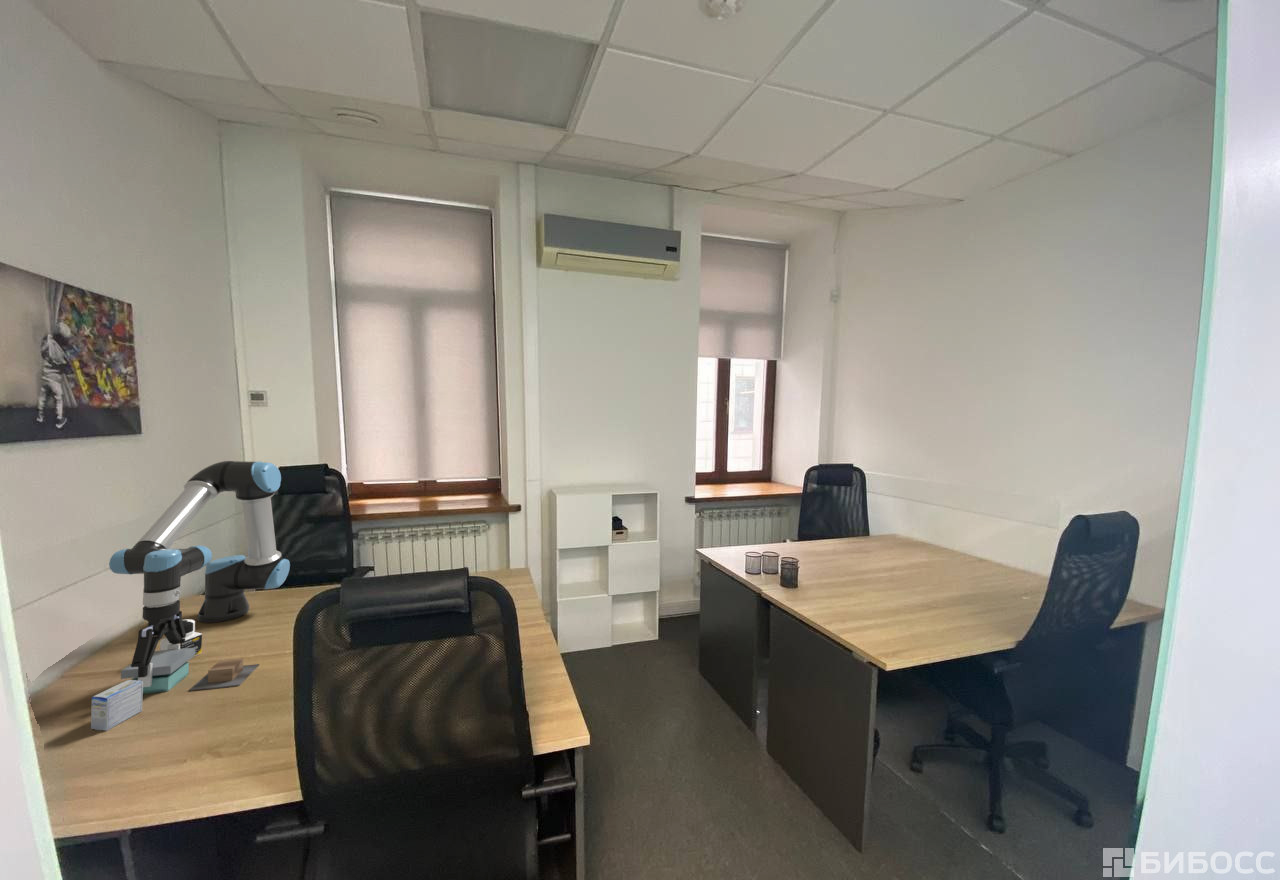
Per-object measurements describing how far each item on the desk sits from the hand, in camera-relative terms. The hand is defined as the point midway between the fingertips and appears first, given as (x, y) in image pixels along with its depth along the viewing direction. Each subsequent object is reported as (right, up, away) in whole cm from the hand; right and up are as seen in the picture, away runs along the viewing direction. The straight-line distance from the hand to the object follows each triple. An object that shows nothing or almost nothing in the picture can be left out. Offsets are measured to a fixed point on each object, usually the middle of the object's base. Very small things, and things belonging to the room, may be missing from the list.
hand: (159, 675), depth 131 cm
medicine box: (+6, -4, -16) cm, 17 cm away
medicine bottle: (-9, -2, +15) cm, 18 cm away
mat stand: (+15, -3, +5) cm, 16 cm away
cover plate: (0, +3, 0) cm, 3 cm away
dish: (0, -3, 0) cm, 3 cm away
